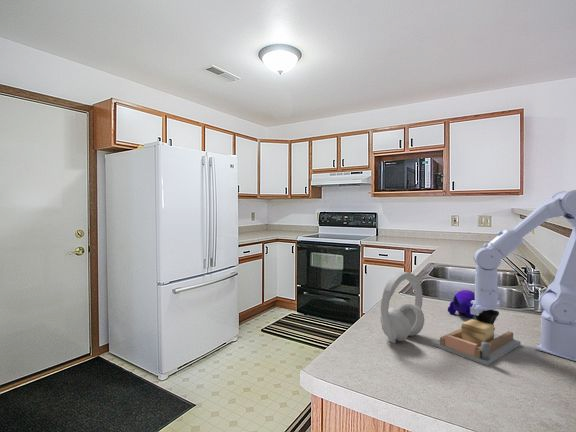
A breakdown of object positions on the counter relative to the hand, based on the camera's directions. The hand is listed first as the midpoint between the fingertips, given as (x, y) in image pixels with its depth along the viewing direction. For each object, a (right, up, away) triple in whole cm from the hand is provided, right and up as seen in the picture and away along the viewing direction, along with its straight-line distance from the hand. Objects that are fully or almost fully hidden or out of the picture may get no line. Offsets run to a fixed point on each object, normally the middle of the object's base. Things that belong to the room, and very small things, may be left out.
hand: (485, 334), depth 94 cm
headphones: (-24, -2, +2) cm, 24 cm away
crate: (-4, -1, -3) cm, 5 cm away
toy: (+6, -2, +24) cm, 25 cm away
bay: (-4, -2, -3) cm, 5 cm away
